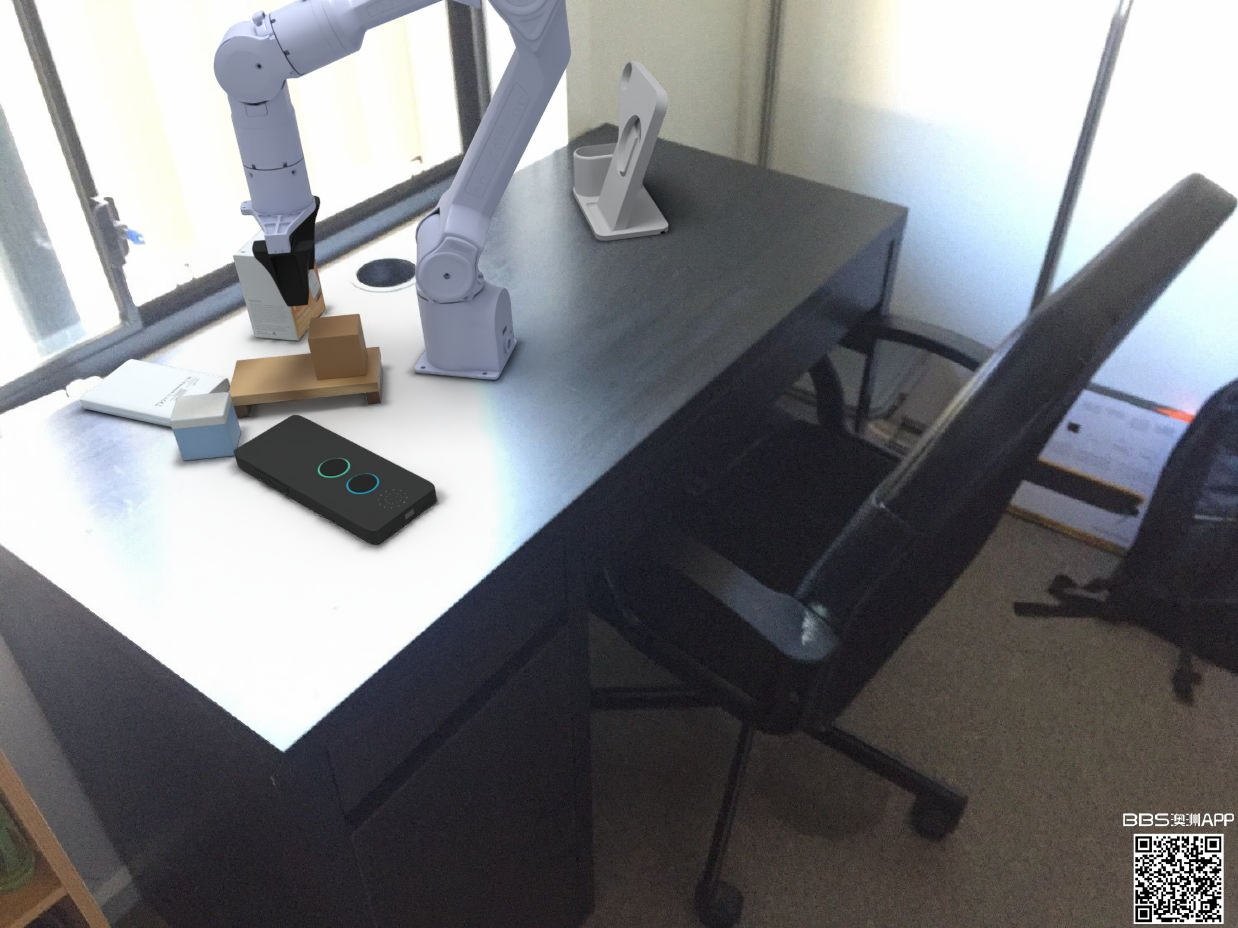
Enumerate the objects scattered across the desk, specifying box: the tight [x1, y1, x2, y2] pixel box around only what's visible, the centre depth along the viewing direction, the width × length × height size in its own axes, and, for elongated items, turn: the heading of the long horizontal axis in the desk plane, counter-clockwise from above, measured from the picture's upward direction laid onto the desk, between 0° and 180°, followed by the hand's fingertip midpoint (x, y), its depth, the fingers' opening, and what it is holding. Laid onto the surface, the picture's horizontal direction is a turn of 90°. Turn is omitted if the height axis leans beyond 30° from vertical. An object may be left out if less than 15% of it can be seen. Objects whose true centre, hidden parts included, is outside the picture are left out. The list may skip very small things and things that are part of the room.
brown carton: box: [307, 313, 367, 380], centre depth 109 cm, size 5×4×5 cm
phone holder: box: [572, 59, 669, 242], centre depth 140 cm, size 17×10×18 cm, turn 14°
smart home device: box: [233, 414, 438, 545], centre depth 99 cm, size 8×2×20 cm
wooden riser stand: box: [228, 346, 384, 419], centre depth 111 cm, size 15×7×3 cm, turn 99°
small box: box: [232, 228, 327, 341], centre depth 120 cm, size 8×6×10 cm
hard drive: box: [79, 358, 231, 428], centre depth 111 cm, size 2×8×12 cm
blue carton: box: [169, 391, 242, 462], centre depth 103 cm, size 5×4×5 cm
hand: (301, 286), depth 109 cm, fingers open, 7 cm apart
